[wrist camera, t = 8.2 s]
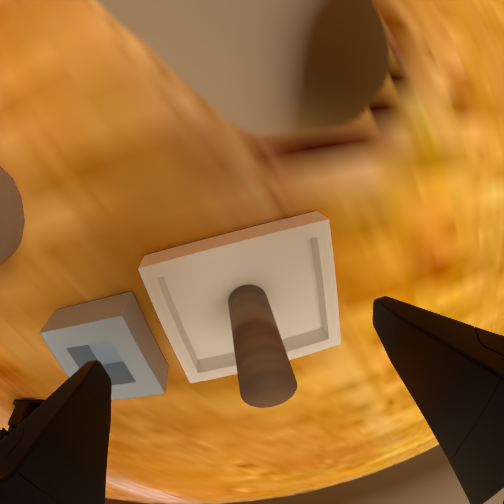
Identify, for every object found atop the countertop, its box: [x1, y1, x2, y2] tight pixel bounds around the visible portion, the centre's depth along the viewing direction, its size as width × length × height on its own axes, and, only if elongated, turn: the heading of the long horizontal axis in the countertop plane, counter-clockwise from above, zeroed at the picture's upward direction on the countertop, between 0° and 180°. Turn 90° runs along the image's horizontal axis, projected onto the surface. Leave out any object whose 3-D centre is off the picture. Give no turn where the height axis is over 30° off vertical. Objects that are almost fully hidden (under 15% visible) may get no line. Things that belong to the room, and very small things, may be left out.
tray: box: [138, 211, 341, 383], centre depth 22 cm, size 11×13×2 cm
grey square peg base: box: [40, 291, 168, 400], centre depth 21 cm, size 8×8×4 cm
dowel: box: [228, 285, 297, 408], centre depth 19 cm, size 3×3×9 cm
